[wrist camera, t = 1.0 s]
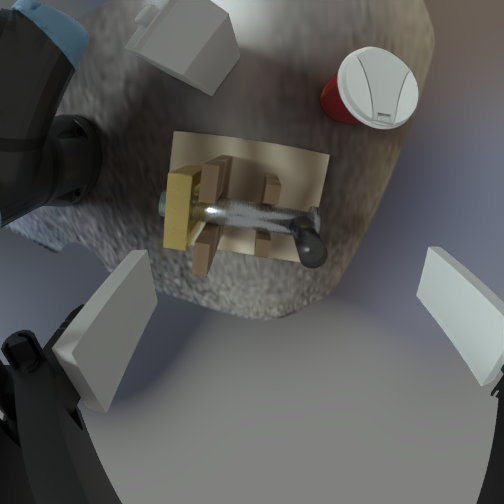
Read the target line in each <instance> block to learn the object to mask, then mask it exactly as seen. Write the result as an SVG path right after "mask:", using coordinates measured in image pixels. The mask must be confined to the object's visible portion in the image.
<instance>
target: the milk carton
mask: <svg viewBox="0 0 504 504" xmlns="http://www.w3.org/2000/svg"><path fill="white" fill-rule="evenodd" d="M135 23H137V24H140V26H139V27H138V28H137V30H136V31H135V33H134V34H133V35H132V37H131V38H130V40H129V41H128V43H127V45H126V46H125V48H124V50H126V51H128V52H130V53H132V54H134V55H136V56H137V57H139V58H141V59H143V60H145V61H147V62H148V63H150V64H152V65H154V66H155V67H157V68H159V69H161V70H162V71H164V72H166V73H167V74H169V75H171V76H173V77H175V78H177V79H179V80H181V81H183V82H185V83H187V84H189V85H191V86H193V87H195V88H197V89H199V90H200V91H202V92H204V93H206V94H208V95H210V96H213V95H214V93H215V92H216V90H217V89H218V87H219V86H220V85H221V83H222V82H223V80H224V79H225V77H226V76H227V75H228V73H229V72H230V70H231V69H232V68H233V66H234V65H235V64H236V62H237V61H238V60H239V58H240V52H239V48H238V45H237V41H236V38H235V34H234V31H233V27H232V24H231V20H230V17H229V13H227V12H226V11H225V10H223V9H222V8H220V7H219V6H217V5H216V4H215V3H213V2H212V1H210V0H159V1H158V2H157V3H156V5H155V6H154V5H152V4H148V5H146V6H145V7H144V8H143V9H142V10H141V11H140V12H139V13H138V15H137V16H136V18H135Z"/></svg>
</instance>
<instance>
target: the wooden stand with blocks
mask: <svg viewBox="0 0 504 504" xmlns="http://www.w3.org/2000/svg"><path fill="white" fill-rule="evenodd" d="M329 156H330V155H328V154H324V153H320V152H315V151H310V150H306V149H301V148H296V147H291V146H285V145H280V144H274V143H269V142H263V141H256V140H250V139H243V138H236V137H228V136H220V135H212V134H202V133H192V132H180V131H174V135H173V143H172V152H171V161H170V171H169V172H171V171H173V170H176V169H178V168H180V167H183V166H185V165H187V164H191V165H200V166H202V174H201V183H200V192H199V201H198V202H204V203H211V204H215V203H216V201H217V200H218V198H219V197H224V198H230V199H237V200H243V201H250V202H256V203H262V204H268V205H274V206H280V207H286V208H291V209H297V210H302V211H308V210H309V208H310V207H311V206H315V207H319V203H320V199H321V195H322V190H323V185H324V181H325V176H326V171H327V166H328V161H329ZM190 245H194V255H193V268H192V274H194V275H200V276H206V277H207V274H208V271H209V269H210V266H211V263H212V260H213V258H214V255H215V252H216V250H217V249H219V250H226V251H232V252H238V253H245V254H251V255H254V256H258V257H264V258H268V257H270V258H276V259H283V260H289V261H295V262H300V259H299V256H298V252H297V249H296V245H295V242H294V238H293V236H287V235H281V234H275V233H269V232H263V231H257V230H251V229H244V228H238V227H232V226H225V225H219V224H212V223H206V222H201V227H200V229H199V230H198V232H197V233H196V235H195V237H194V238H193V240H192V241H191V243H190Z"/></svg>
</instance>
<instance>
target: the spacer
mask: <svg viewBox="0 0 504 504" xmlns="http://www.w3.org/2000/svg"><path fill="white" fill-rule="evenodd" d="M201 174H202V166H200V165H191V164H187V165H185V166H183V167H180V168H178V169H176V170H173V171H171V172H169V173H168V180H167V192H166V206H165V223H164V246H163V247H165V248H171V249H177V250H183V251H186V250H187V248H188V246H189V245H190V243H191V241H192V240H193V238H194V237H195V235H196V233H197V232H198V230H199V229H200V227H201V222H199V221H192V220H191V215H192V205H193V195H194V193H195V194H199V192H200V183H201Z"/></svg>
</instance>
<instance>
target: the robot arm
mask: <svg viewBox="0 0 504 504" xmlns="http://www.w3.org/2000/svg"><path fill="white" fill-rule="evenodd" d="M88 42H89V35H88V32H87V31H86V29H85V28H84V27H83V26H82V25H81V24H80V23H79V22H77V21H76V20H74V19H73V18H71V17H70V16H68V15H66V14H65V13H63V12H61V11H59V10H57V9H55V8H53V7H51V6H48V5H45V4H41V3H39V2H36V1H34V0H19V1H17V2H16V3H15V4H14V5H13V6H12V7H11V10H8V9H2V8H0V228H2V227H3V226H5V225H7V224H9V223H10V222H12V221H14V220H16V219H18V218H20V217H21V216H23V215H25V214H27V213H29V212H31V211H33V210H35V209H37V208H39V207H41V206H57V207H64V206H69V205H72V204H74V203H76V202H78V201H80V200H82V199H83V198H85V197H86V196H87V195H88V194H89V193H90V191H91V190H92V188H93V187H94V185H95V183H96V181H97V178H98V175H99V171H100V166H101V149H100V143H99V140H98V137H97V134H96V132H95V130H94V129H93V127H92V126H91V125H90V123H89V122H88V121H86V120H85V119H84V118H82V117H80V116H77V115H59V116H55V114H56V111H57V109H58V107H59V104H60V102H61V100H62V97H63V95H64V93H65V91H66V89H67V86H68V84H69V82H70V80H71V78H72V76H73V74H74V72H76V71H77V69H78V63H79V61H80V59H81V57H82V55H83V53H84V51H85V49H86V47H87V45H88ZM54 116H55V117H54ZM416 296H417V297H418V298H419V300H421V302H422V303H423V304H424V306H425V307H426V308H427V310H428V311H429V312H430V313H431V315H432V316H433V317H434V319H435V320H436V321H437V323H438V324H439V325H440V327H441V328H442V329H443V331H444V332H445V333H446V335H447V336H448V337H449V339H450V340H451V342H452V343H453V344H454V346H455V347H456V349H457V350H458V352H459V353H460V354H461V356H462V357H463V359H464V360H465V362H466V363H467V365H468V366H469V368H470V369H471V371H472V372H473V374H474V375H475V377H476V379H477V380H478V382H479V383H480V385H481V386H483V385H486V384H487V383H490V382H492V381H494V379H495V378H496V376H497V374H498V373H499V371H500V370H501V371H502V372H503V373H504V302H503V301H502V300H501V299H500V298H499V297H498V296H497V295H496V294H494V293H493V292H492V291H491V290H490V289H489V288H488V287H487V286H486V285H485V284H484V283H483V282H481V281H480V280H479V279H478V278H477V277H476V276H475V275H473V274H472V273H471V272H470V271H469V270H468V269H467V268H465V267H464V266H463V265H462V264H461V263H459V262H458V261H457V260H456V259H454V258H453V257H452V256H451V255H449V254H448V253H447V252H446V251H445V250H443V249H442V248H441V247H428V251H427V256H426V260H425V264H424V268H423V272H422V276H421V280H420V284H419V287H418V291H417V295H416ZM157 303H158V302H157V298H156V293H155V288H154V283H153V278H152V273H151V268H150V263H149V257H148V252H147V250H132V251H131V252H130V253H129V254H128V255H127V257H126V258H125V259H124V260H123V261H122V262H121V263H120V264H119V265H118V267H117V268H116V269H115V270H114V271H113V272H112V273H111V275H110V276H109V277H108V278H107V279H106V281H105V282H104V283H103V284H102V285H101V286H100V287H99V289H98V290H97V291H96V292H95V294H94V295H93V296H92V297H91V298H90V299H89V301H88V302H87V303H86V304H85V305H83V304H82V305H80V306H79V307H78V308H76V309H75V310H73V311H72V312H71V313H70V314H69V316H68V317H67V318H66V319H65V322H63V323H62V324H61V326H60V329H57V331H56V332H55V333H54V335H53V336H52V337H51V339H50V340H49V341H48V343H47V344H46V345H45V347H44V348H43V349H42V348H41V346H40V344H39V343H38V340H37V339H36V336H35V334H34V333H33V332H31V331H30V330H21V331H18V332H15V333H13V334H12V335H11V336H9V337H8V338H7V339H6V340H5V342H4V343H3V345H2V348H1V350H2V352H3V354H4V356H5V357H6V359H7V360H8V362H9V364H10V365H4V364H3V363H2V361H1V360H0V410H1V412H2V413H3V414H4V417H3V420H1V419H0V504H122V503H121V501H120V499H119V498H118V496H117V494H116V492H115V490H114V488H113V486H112V485H111V483H110V481H109V479H108V477H107V475H106V473H105V470H104V468H103V466H102V464H101V462H100V460H99V458H98V455H97V453H96V451H95V448H94V446H93V443H92V441H91V439H90V436H89V433H88V431H87V428H86V425H85V423H84V420H83V417H82V414H81V411H80V410H79V408H78V406H77V404H78V402H79V400H80V398H81V399H82V401H83V402H84V404H85V405H86V406H87V408H88V409H92V410H96V411H100V412H104V413H107V411H108V408H109V406H110V404H111V401H112V399H113V396H114V394H115V392H116V389H117V387H118V385H119V383H120V380H121V378H122V375H123V373H124V371H125V369H126V367H127V365H128V363H129V360H130V358H131V356H132V354H133V351H134V350H135V347H136V345H137V343H138V341H139V339H140V337H141V335H142V333H143V331H144V329H145V327H146V324H147V322H148V321H149V319H150V316H151V314H152V312H153V310H154V308H155V307H156V305H157ZM497 390H499V392H498V394H497V395H496V397H497V398H499V399H498V410H497V419H496V426H495V433H494V438H493V444H492V449H491V454H490V458H489V463H488V467H487V471H486V474H485V479H484V482H483V485H482V488H481V492H480V495H479V498H478V501H477V504H504V375H503V376H502V378H501V379H500V381H499V382H498V384H497V385H496V387H495V388H494V389H493V391H492V392H491V396H493V395H494V393H495V392H496V391H497Z"/></svg>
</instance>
